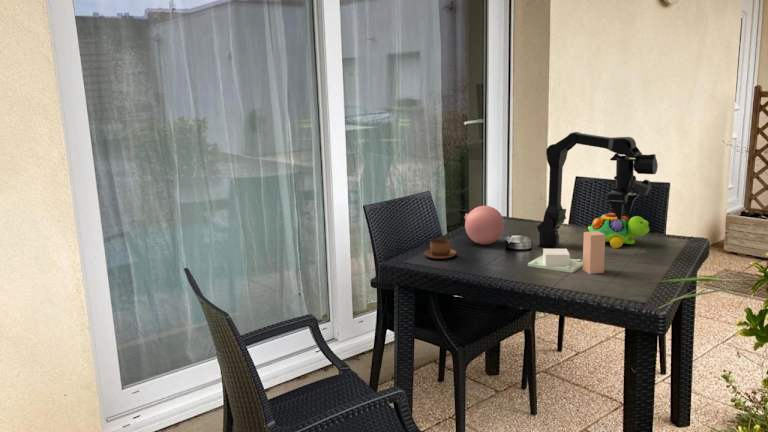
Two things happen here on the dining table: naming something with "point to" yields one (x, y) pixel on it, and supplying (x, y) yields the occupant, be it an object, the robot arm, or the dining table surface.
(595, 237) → the column brick
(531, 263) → the tower base
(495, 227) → the balloon
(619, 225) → the turtle toy
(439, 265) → the dining table surface
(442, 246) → the cup and saucer
